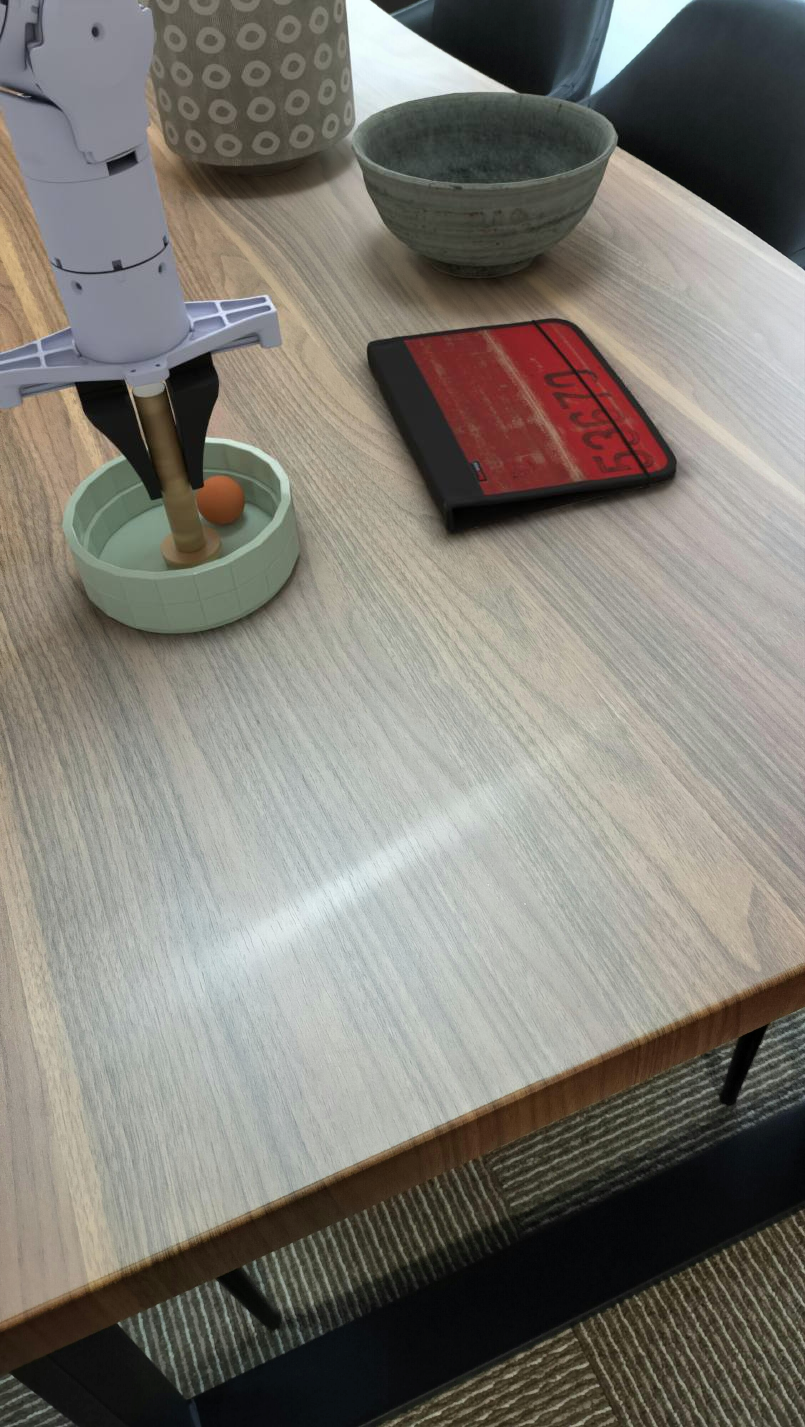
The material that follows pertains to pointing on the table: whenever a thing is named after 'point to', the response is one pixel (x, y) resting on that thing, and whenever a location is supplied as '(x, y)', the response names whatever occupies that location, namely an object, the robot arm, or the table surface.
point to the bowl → (483, 175)
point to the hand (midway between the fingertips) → (174, 484)
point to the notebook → (516, 419)
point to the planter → (252, 80)
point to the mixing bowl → (131, 528)
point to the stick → (174, 482)
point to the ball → (220, 500)
